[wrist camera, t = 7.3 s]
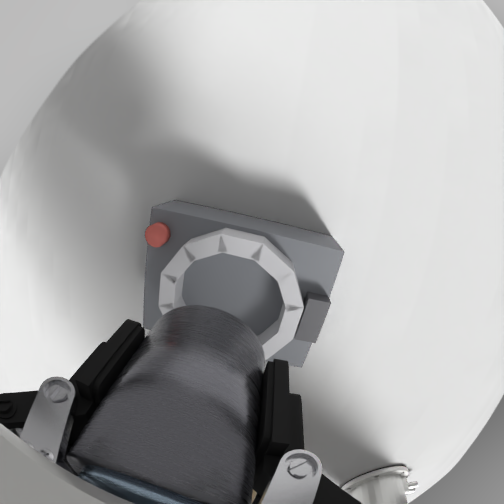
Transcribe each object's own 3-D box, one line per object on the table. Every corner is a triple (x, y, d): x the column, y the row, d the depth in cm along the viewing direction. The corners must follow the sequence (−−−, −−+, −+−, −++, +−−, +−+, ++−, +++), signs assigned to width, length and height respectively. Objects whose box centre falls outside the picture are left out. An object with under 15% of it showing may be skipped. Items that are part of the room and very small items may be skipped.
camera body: (331, 236, 20) (351, 260, 14) (298, 337, 22) (302, 381, 17) (174, 200, 20) (140, 211, 14) (162, 303, 22) (134, 339, 17)
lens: (278, 322, 10) (272, 518, 3) (250, 404, 12) (230, 544, 5) (152, 290, 10) (32, 432, 3) (151, 378, 12) (87, 499, 5)
